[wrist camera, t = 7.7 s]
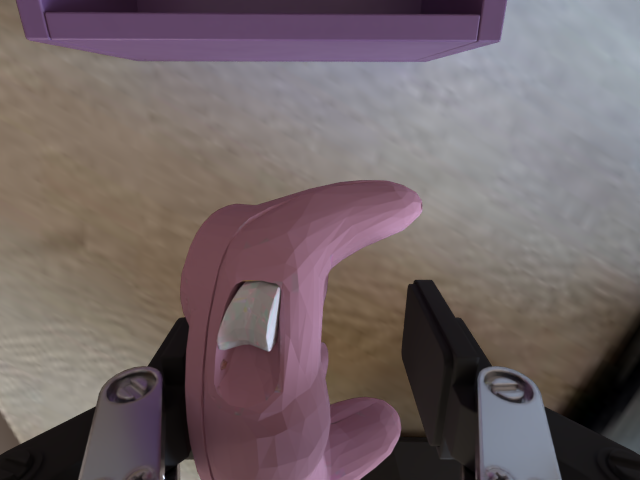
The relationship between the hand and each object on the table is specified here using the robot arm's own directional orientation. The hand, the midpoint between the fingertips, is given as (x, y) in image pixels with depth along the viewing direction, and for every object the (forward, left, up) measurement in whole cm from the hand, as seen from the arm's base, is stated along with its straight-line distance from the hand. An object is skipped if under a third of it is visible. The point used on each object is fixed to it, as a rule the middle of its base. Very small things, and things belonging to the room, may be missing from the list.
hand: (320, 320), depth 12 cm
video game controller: (0, 0, -1) cm, 1 cm away
